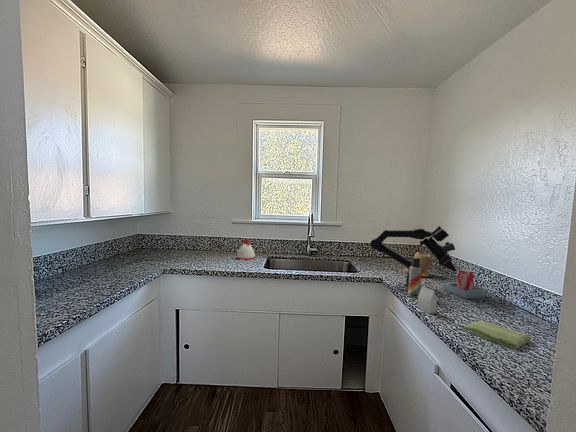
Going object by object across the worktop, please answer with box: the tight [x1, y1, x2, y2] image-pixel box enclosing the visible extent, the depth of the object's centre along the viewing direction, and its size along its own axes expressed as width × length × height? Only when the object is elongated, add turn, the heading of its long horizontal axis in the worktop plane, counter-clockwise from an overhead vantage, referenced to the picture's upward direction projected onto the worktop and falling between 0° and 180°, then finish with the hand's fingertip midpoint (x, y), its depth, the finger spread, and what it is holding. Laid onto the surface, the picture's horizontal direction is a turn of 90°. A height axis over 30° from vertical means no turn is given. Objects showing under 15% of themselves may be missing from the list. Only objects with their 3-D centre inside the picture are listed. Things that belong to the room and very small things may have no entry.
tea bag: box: [417, 286, 438, 315], centre depth 132 cm, size 4×7×10 cm, turn 24°
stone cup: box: [403, 251, 432, 278], centre depth 193 cm, size 15×12×15 cm
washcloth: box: [463, 320, 531, 350], centre depth 109 cm, size 13×18×3 cm
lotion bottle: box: [407, 257, 422, 299], centre depth 150 cm, size 6×6×20 cm
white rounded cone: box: [236, 238, 256, 261], centre depth 230 cm, size 14×14×15 cm
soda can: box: [456, 268, 474, 291], centre depth 156 cm, size 7×7×12 cm
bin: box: [443, 282, 488, 300], centre depth 157 cm, size 14×14×4 cm
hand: (454, 269), depth 158 cm, fingers open, 9 cm apart
